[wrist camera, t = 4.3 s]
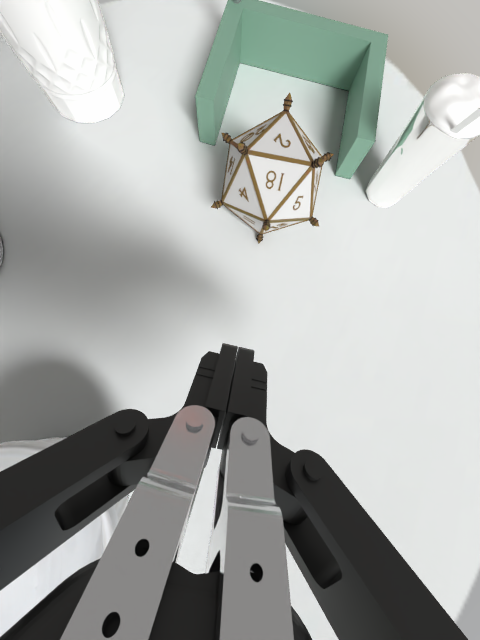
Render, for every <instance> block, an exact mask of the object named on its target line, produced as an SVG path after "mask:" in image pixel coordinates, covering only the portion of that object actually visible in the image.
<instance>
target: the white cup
mask: <svg viewBox="0 0 480 640" xmlns="http://www.w3.org/2000/svg"><path fill="white" fill-rule="evenodd" d="M0 33H1V34H2V36H3V37H4V39H5V40H6V41H7V43H8V44H9V46H10V47H11V49H12V50H13V51H14V53H15V54H16V55H17V57H18V58H19V60H20V61H21V62H22V64H23V65H24V67H25V68H26V69H27V71H28V72H29V74H30V75H31V76H32V78H33V79H34V80H35V81H36V82H37V83H38V85H39V86H40V88H41V89H42V91H43V92H44V93H45V95H46V96H47V98H48V99H49V101H50V102H51V104H52V105H53V106H54V107H55V109H56V110H57V111H58V112H59V113H60V114H61V115H62V116H63V117H65V118H67V119H70V120H72V121H75V122H78V123H96V122H99V121H102V120H105V119H108V118H110V117H111V116H112V115H113V114H114V113H115V112H117V111H118V110H119V109H120V107H121V104H122V101H123V98H124V92H123V88H122V84H121V80H120V77H119V74H118V71H117V68H116V64H115V61H114V53H113V49H112V46H111V43H110V40H109V35H108V31H107V28H106V24H105V21H104V18H103V14H102V11H101V8H100V4H99V1H98V0H0Z"/></svg>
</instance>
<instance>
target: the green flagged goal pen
mask: <svg viewBox="0 0 480 640" xmlns="http://www.w3.org/2000/svg"><path fill="white" fill-rule="evenodd" d="M387 39H388V35H387V34H384V33H380V32H376V31H372V30H369V29H365V28H361V27H357V26H353V25H350V24H346V23H342V22H338V21H335V20H331V19H327V18H323V17H320V16H316V15H312V14H308V13H305V12H301V11H297V10H293V9H289V8H286V7H282V6H278V5H274V4H271V3H267V2H263V1H259V0H228V2H227V5H226V8H225V10H224V13H223V16H222V19H221V22H220V25H219V28H218V31H217V34H216V37H215V40H214V43H213V46H212V49H211V52H210V54H209V57H208V60H207V63H206V66H205V69H204V72H203V75H202V78H201V81H200V84H199V87H198V90H197V93H196V96H195V97H196V108H197V118H198V129H199V139H200V142H204V143H208V144H212V145H215V144H216V140H217V137H218V134H219V130H220V127H221V124H222V120H223V117H224V114H225V110H226V107H227V104H228V100H229V97H230V94H231V90H232V87H233V84H234V80H235V77H236V74H237V70H238V67H239V64H240V63H243V64H247V65H251V66H255V67H259V68H262V69H266V70H270V71H274V72H278V73H282V74H286V75H290V76H293V77H297V78H301V79H305V80H309V81H313V82H317V83H320V84H324V85H328V86H332V87H336V88H340V89H344V90H347V91H349V93H348V99H347V106H346V112H345V118H344V124H343V130H342V137H341V143H340V149H339V155H338V161H337V168H336V174H335V175H336V176H340V177H344V178H348V179H350V178H351V177H352V175H353V174H354V172H355V171H356V169H357V168H358V166H359V165H360V163H361V162H362V160H363V159H364V157H365V156H366V154H367V153H368V151H369V150H370V148H371V147H372V145H373V144H374V142H375V137H376V129H377V121H378V113H379V105H380V97H381V88H382V80H383V72H384V64H385V56H386V48H387Z"/></svg>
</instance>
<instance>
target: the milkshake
mask: <svg viewBox="0 0 480 640" xmlns="http://www.w3.org/2000/svg"><path fill="white" fill-rule="evenodd" d="M479 135H480V77H478V76H475V75H473V74H451V75H448V76H445V77H443V78H441V79H439V80H437V81H436V82H435V83H434V84H433V85H432V86H431V87H430V88H429V90H428V91H427V93H426V95H425V96H424V98H423V99H422V101H421V103H420V104H419V106H418V107H417V109H416V111H415V112H414V114H413V115H412V117H411V119H410V120H409V122H408V123H407V125H406V127H405V128H404V130H403V131H402V133H401V134H400V136H399V137H398V139H397V140H396V142H395V143H394V145H393V146H392V148H391V149H390V151H389V152H388V154H387V155H386V157H385V159H384V160H383V162H382V163H381V165H380V166H379V168H378V169H377V171H376V172H375V174H374V175H373V177H372V178H371V180H370V181H369V183H368V186H367V189H366V194H367V197H368V199H369V201H370V202H372V203H373V204H374V205H376V206H377V207H383V208H389V207H390V206H392V205H394V204H396V203H397V202H398V201H399V200H401V199H402V198H403V197H404V196H405V195H407V194H408V193H409V192H410V191H411V190H413V189H414V188H415V187H416V186H417V185H419V184H420V183H421V182H422V181H423V180H425V179H426V178H427V177H428V176H429V175H431V174H432V173H433V172H434V171H435V170H437V169H438V168H439V167H440V166H441V165H443V164H444V163H445V162H446V161H448V160H449V159H450V158H452V157H453V156H454V155H455V154H457V153H458V152H459V151H460V150H462V149H463V148H464V147H465V146H467V145H468V144H469V143H470V142H472V141H473V140H474V139H475V138H476V137H478V136H479Z"/></svg>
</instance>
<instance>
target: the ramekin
mask: <svg viewBox="0 0 480 640" xmlns="http://www.w3.org/2000/svg"><path fill="white" fill-rule="evenodd" d="M65 438H67V437H62V438H59V437H55V438H47V439H41V440H34V441H33V440H19V441H9V442H3V443H0V472H1V471H3V470H4V469H6V468H8V467H10V466H12V465H14V464H16V463H18V462H20V461H22V460H24V459H26V458H28V457H30V456H32V455H34V454H36V453H38V452H40V451H42V450H44V449H46V448H48V447H49V446H51V445H53V444H55V443H57V442H59V441H61V440H63V439H65ZM127 504H128V495H127V496H125V497H124V498H123V499H121V500H120V501H119V502H117V503H116V504H115V505H113V506H112V507H111V508H109V509H108V510H107V511H105V512H104V513H103V514H101V515H100V516H99V517H97V518H96V519H95V520H93V521H92V522H91V523H89V524H88V525H87V526H85V527H84V528H83V529H81V530H80V531H79V532H77V533H76V534H75V535H74V536H72V537H71V538H70V539H68V540H67V541H66V542H64V543H63V544H62V545H60V546H59V547H58V548H56V549H55V550H54V551H52V552H51V553H50V554H48V555H47V556H46V557H44V558H43V559H42V560H40V561H39V562H38V563H36V564H35V565H34V566H32V567H31V568H30V569H28V570H27V571H26V572H25V573H23V574H22V575H21V576H19V577H18V578H17V579H15V580H14V581H13V582H11V583H10V584H9V585H7V586H6V587H5V588H3V589H2V590H1V591H0V637H1V636H2V635H3V634H4V633H5V632H6V631H8V630H9V629H10V628H11V627H12V626H13V625H14V624H15V623H17V622H18V621H19V620H20V619H21V618H22V617H23V616H24V615H26V614H27V613H28V612H29V611H30V610H31V609H32V608H33V607H35V606H36V605H37V604H38V603H39V602H40V601H41V600H42V599H44V598H45V597H46V596H47V595H48V594H49V593H50V592H51V591H53V590H54V589H55V588H56V587H57V586H58V585H59V584H61V583H62V582H63V581H64V580H65V579H66V578H68V577H69V576H71V575H72V574H73V573H75V572H76V571H77V570H79V569H81V568H82V567H84V566H86V565H87V564H89V563H91V562H93V561H96V560H98V559H100V558H101V557H102V555H103V553H104V551H105V549H106V547H107V545H108V543H109V541H110V539H111V537H112V535H113V533H114V531H115V529H116V526H117V524H118V522H119V520H120V518H121V516H122V514H123V512H124V510H125V508H126V506H127Z"/></svg>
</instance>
